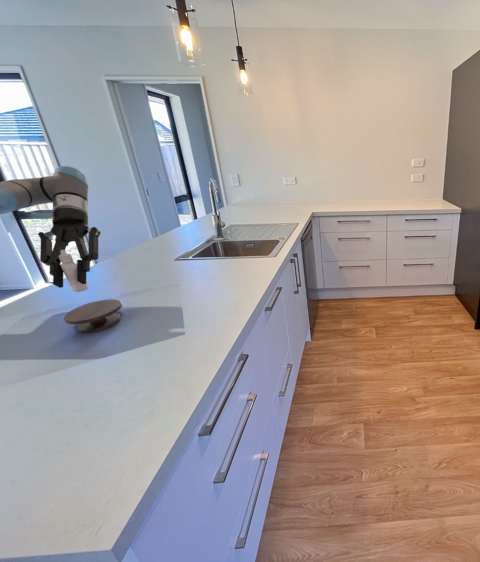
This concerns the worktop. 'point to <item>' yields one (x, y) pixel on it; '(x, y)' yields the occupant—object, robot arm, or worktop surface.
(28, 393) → the worktop surface
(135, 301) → the worktop surface
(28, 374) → the worktop surface
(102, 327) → the walnut stand
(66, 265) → the eye dropper bottle
